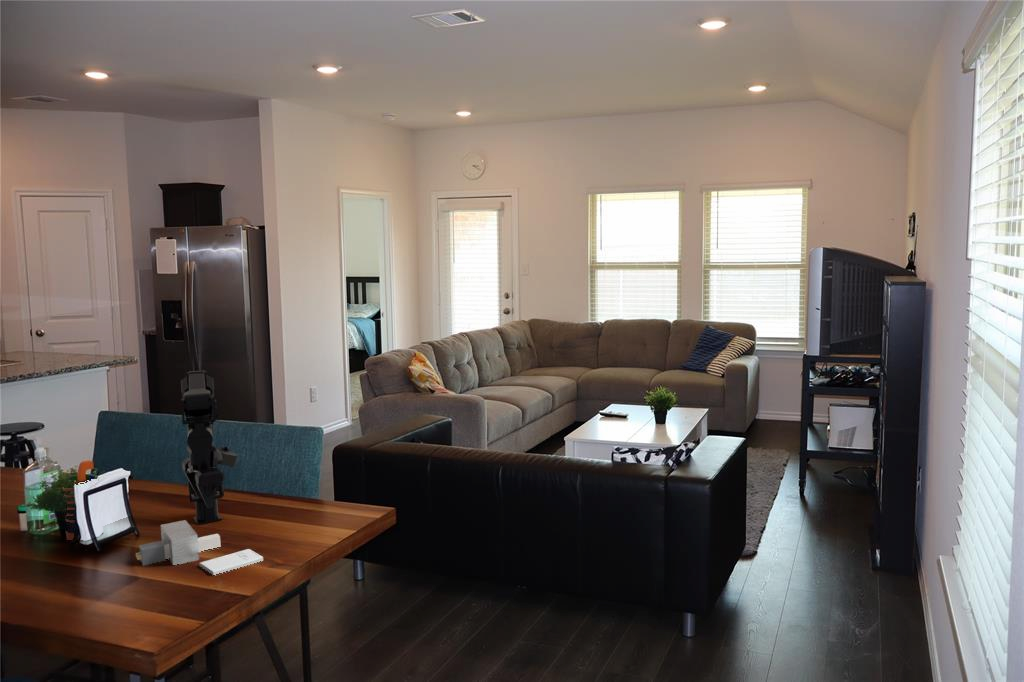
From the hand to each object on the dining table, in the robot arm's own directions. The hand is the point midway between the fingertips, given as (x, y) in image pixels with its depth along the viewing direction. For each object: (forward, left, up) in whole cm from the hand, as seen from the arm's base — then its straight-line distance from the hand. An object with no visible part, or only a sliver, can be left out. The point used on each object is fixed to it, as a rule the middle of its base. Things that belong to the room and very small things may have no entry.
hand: (205, 502), depth 204 cm
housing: (0, -7, -12) cm, 14 cm away
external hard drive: (+14, +2, -13) cm, 19 cm away
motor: (-31, -25, -12) cm, 42 cm away
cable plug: (0, -7, -12) cm, 14 cm away
